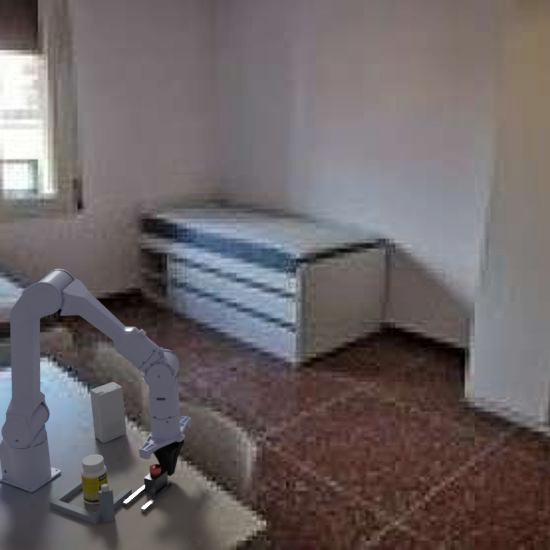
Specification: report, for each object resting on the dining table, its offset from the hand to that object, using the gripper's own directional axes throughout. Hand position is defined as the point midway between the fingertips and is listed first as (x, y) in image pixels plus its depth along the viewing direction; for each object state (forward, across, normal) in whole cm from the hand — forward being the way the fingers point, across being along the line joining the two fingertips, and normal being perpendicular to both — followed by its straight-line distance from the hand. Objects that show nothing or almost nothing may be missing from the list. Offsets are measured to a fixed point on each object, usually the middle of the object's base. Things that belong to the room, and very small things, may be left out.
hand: (168, 473), depth 135 cm
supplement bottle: (+2, -11, +9) cm, 14 cm away
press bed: (+1, -13, +8) cm, 15 cm away
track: (+1, -6, 0) cm, 7 cm away
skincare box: (+2, +8, +22) cm, 23 cm away
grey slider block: (+1, -4, 0) cm, 4 cm away
